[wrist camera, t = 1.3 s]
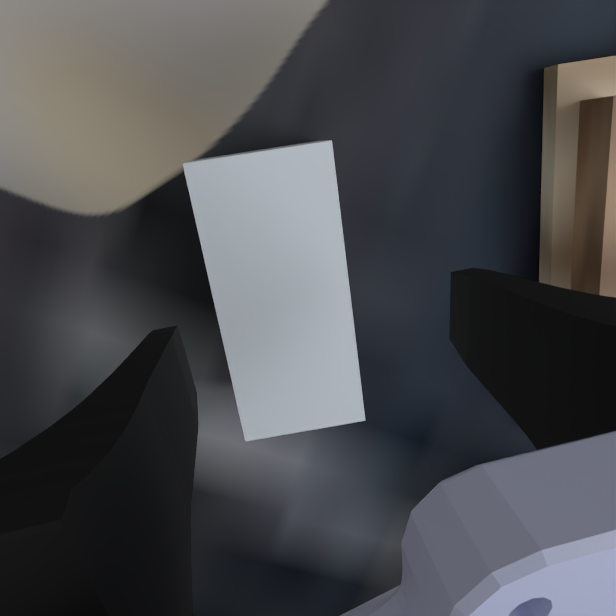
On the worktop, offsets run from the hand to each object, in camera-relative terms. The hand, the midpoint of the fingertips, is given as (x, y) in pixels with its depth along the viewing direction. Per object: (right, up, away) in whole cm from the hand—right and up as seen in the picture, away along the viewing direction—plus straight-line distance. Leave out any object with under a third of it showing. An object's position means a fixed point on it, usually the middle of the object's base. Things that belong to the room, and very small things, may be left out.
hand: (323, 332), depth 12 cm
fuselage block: (-2, +2, +10) cm, 10 cm away
